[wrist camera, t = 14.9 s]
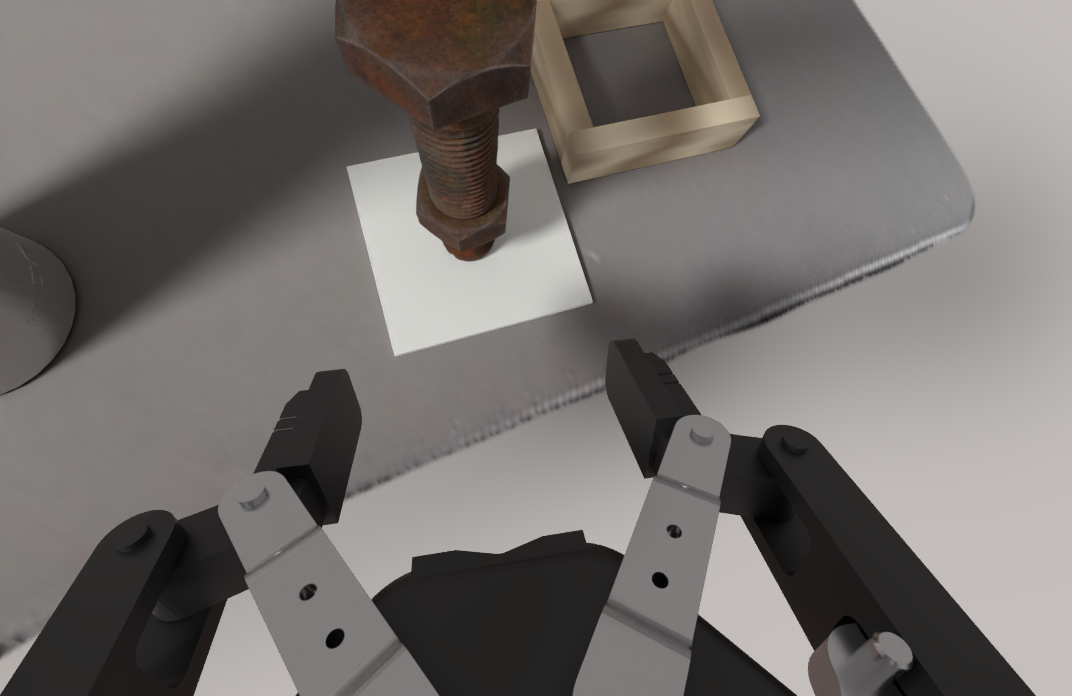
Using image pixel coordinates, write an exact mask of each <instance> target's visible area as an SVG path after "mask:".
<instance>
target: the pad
mask: <svg viewBox="0 0 1072 696" xmlns="http://www.w3.org/2000/svg"><path fill="white" fill-rule="evenodd" d="M497 165H498V166H500V167H501V168H502V169H503V170H504V171H505V172H506V173H507V174H508V175H509V176H510V185H509V198H508V210H507V221H506V231H505V233H504V234H503V235H501V236H499V237H498V238H496V239H495V241H494V244H493V246H492V248H491V250H490V251H489V252H488V253H487V254H486V255H485V256H483V257H482V258H480V259H478V260H476V261H471V262H470V261H462V260H459V259H457V258H455V256H454V255H453V254H450V253H449V252H448V251H447V250H446V248H445V246H444V244H443V242H442V241H441V240H440V239H439V238H437V237H436V236H434V235H433V234H432V233H430V232H429V231H428V230H427V229H426V228H424V227H423V226H422V225H421V224H420V223H419V220H418V217H417V215H416V198H417V188H418V181H419V175H420V171H421V168H422V164H421V161H420V157H419V152H416V153H411V154H406V155H401V156H396V157H391V158H387V159H382V160H377V161H372V162H367V163H362V164H357V165H352V166H347V171H348V175H349V179H350V182H351V186H352V190H353V194H354V198H355V202H356V206H357V210H358V214H359V218H360V222H361V226H362V230H363V234H364V238H365V242H366V245H367V249H368V253H369V257H370V261H371V265H372V269H373V273H374V277H375V281H376V285H377V289H378V293H379V297H380V301H381V304H382V308H383V312H384V316H385V320H386V324H387V328H388V332H389V336H390V340H391V344H392V348H393V352H394V356H396V357H397V356H401V355H405V354H408V353H412V352H416V351H420V350H423V349H427V348H431V347H434V346H438V345H442V344H445V343H449V342H453V341H457V340H460V339H464V338H468V337H471V336H475V335H479V334H482V333H486V332H490V331H493V330H497V329H501V328H505V327H508V326H512V325H516V324H519V323H523V322H527V321H530V320H534V319H538V318H542V317H545V316H549V315H553V314H556V313H560V312H564V311H567V310H571V309H575V308H579V307H582V306H586V305H590V304H592V303H593V301H592V298H591V294H590V291H589V288H588V285H587V282H586V279H585V276H584V273H583V270H582V267H581V264H580V261H579V258H578V255H577V252H576V249H575V246H574V243H573V240H572V237H571V233H570V230H569V227H568V224H567V221H566V218H565V215H564V212H563V209H562V206H561V203H560V200H559V197H558V194H557V191H556V188H555V185H554V182H553V179H552V175H551V172H550V169H549V166H548V163H547V160H546V157H545V154H544V151H543V148H542V145H541V142H540V139H539V136H538V133H537V130H536V128H535V129H530V130H525V131H520V132H515V133H510V134H505V135H500V136H498V153H497Z"/></svg>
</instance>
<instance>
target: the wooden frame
mask: <svg viewBox="0 0 1072 696" xmlns="http://www.w3.org/2000/svg"><path fill="white" fill-rule="evenodd" d="M662 21H663V23H664V26H665V28H666V31H667V34H668V36H669V39H670V41H671V44H672V46H673V49H674V51H675V54H676V57H677V59H678V62H679V64H680V67H681V69H682V72H683V75H684V77H685V80H686V82H687V85H688V87H689V90H690V92H691V95H692V98H693V100H694V103H695V105H696V106H695V107H690V108H685V109H680V110H676V111H671V112H666V113H661V114H656V115H651V116H646V117H642V118H637V119H632V120H627V121H622V122H617V123H612V124H608V125H603V126H598V127H593V124H592V121H591V119H590V116H589V113H588V110H587V107H586V104H585V101H584V99H583V96H582V93H581V90H580V87H579V84H578V81H577V78H576V76H575V73H574V70H573V67H572V64H571V61H570V58H569V56H568V53H567V50H566V47H565V44H564V41H563V38H568V37H574V36H580V35H586V34H592V33H597V32H603V31H609V30H615V29H621V28H627V27H633V26H638V25H644V24H650V23H656V22H662ZM530 71H531V74H532V77H533V80H534V83H535V86H536V89H537V92H538V95H539V98H540V101H541V104H542V107H543V110H544V113H545V116H546V119H547V122H548V125H549V128H550V131H551V134H552V137H553V140H554V143H555V146H556V149H557V152H558V155H559V158H560V161H561V164H562V167H563V170H564V173H565V176H566V179H567V182H568V184H570V183H575V182H579V181H584V180H588V179H593V178H597V177H602V176H606V175H611V174H615V173H619V172H624V171H628V170H633V169H637V168H642V167H646V166H651V165H655V164H660V163H664V162H668V161H673V160H677V159H682V158H686V157H691V156H695V155H700V154H704V153H709V152H713V151H717V150H722V149H726V148H731V147H733V146H734V145H735V144H736V143H737V142H738V141H739V140H740V138H741V137H742V136H743V135H744V134H745V133H746V132H747V130H748V129H749V128H750V127H751V126H752V125H753V124H754V122H755V121H756V120H757V119H758V118H759V117H760V115H759V112H758V110H757V107H756V105H755V103H754V100H753V98H752V95H751V93H750V90H749V88H748V86H747V83H746V81H745V78H744V76H743V73H742V71H741V69H740V66H739V64H738V61H737V59H736V56H735V54H734V52H733V49H732V47H731V44H730V42H729V39H728V37H727V35H726V32H725V30H724V27H723V25H722V23H721V20H720V18H719V15H718V13H717V10H716V8H715V6H714V3H713V1H712V0H537V6H536V18H535V30H534V42H533V51H532V61H531V70H530Z"/></svg>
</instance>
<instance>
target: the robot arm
mask: <svg viewBox="0 0 1072 696" xmlns="http://www.w3.org/2000/svg"><path fill="white" fill-rule="evenodd" d="M74 314H75V291H74V287H73V284H72V280H71V277H70V275H69V273H68V272H67V270H66V268H65V267H64V265H63V263H62V262H61V261H60V260H59V259H58V258H57V257H56V256H55V255H54V254H53V253H52V252H51V251H50V250H48V249H47V248H45V247H43V246H42V245H40V244H39V243H37V242H35V241H33V240H30V239H28V238H25V237H23V236H20V235H18V234H15V233H13V232H10V231H8V230H5V229H3V228H0V395H1V394H3V393H6V392H8V391H10V390H12V389H15V388H17V387H19V386H20V385H22V384H23V383H25V382H27V381H28V380H30V379H31V378H33V377H34V376H36V375H37V374H38V373H39V372H40V371H41V370H42V369H43V368H44V367H46V366H47V365H48V364H49V363H50V362H51V361H52V360H53V358H54V357H55V356H56V354H57V353H58V351H59V350H60V349H61V347H62V346H63V345H64V343H65V340H66V338H67V336H68V334H69V332H70V330H71V328H72V323H73V319H74ZM605 382H606V391H607V395H608V398H609V400H610V402H611V405H612V407H613V409H614V411H615V414H616V416H617V418H618V420H619V423H620V425H621V427H622V429H623V431H624V434H625V436H626V438H627V440H628V443H629V445H630V447H631V449H632V452H633V454H634V456H635V458H636V460H637V463H638V465H639V467H640V470H641V472H642V474H643V476H644V478H651V477H654V478H653V481H652V483H651V486H650V489H649V491H648V494H647V497H646V499H645V502H644V505H643V508H642V510H641V513H640V516H639V518H638V521H637V523H636V526H635V529H634V532H633V534H632V537H631V540H630V542H629V545H628V548H627V550H626V553H625V555H623V554H621V553H619V552H617V551H615V550H613V549H610V548H608V547H605V546H602V545H597V544H593V543H586V540H585V537H584V533H583V530H579V531H572V532H566V533H560V534H554V535H547V536H542V537H540V538H538V539H535V540H533V541H531V542H528V543H526V544H523V545H521V546H519V547H517V548H514V549H512V550H510V551H507V552H505V553H502V554H491V553H480V552H469V551H458V550H454V551H448V552H442V553H436V554H429V555H423V556H417V557H413V558H412V571H411V572H409V573H407V574H405V575H403V576H401V577H400V578H398V579H396V580H394V581H393V582H392V583H390V584H389V585H387V586H386V587H384V588H383V589H382V590H381V591H380V592H379V593H378V594H377V595H375V596H374V597H373V599H370V597H369V596H368V595H367V593H366V592H365V590H364V589H363V587H362V586H361V584H360V583H359V582H358V580H357V579H356V577H355V576H354V574H353V573H352V571H351V570H350V568H349V567H348V566H347V564H346V563H345V561H344V560H343V558H342V557H341V556H340V554H339V553H338V551H337V550H336V548H335V547H334V545H333V544H332V542H331V541H330V540H329V538H328V537H327V535H326V534H325V532H324V531H323V530H322V525H328V524H334V523H338V521H339V517H340V513H341V509H342V505H343V501H344V497H345V492H346V488H347V484H348V480H349V476H350V472H351V468H352V463H353V459H354V455H355V451H356V447H357V443H358V439H359V434H360V430H361V425H362V416H361V409H360V406H359V403H358V400H357V397H356V394H355V391H354V389H353V386H352V383H351V380H350V377H349V374H348V372H347V371H346V370H345V369H339V370H330V371H321V372H317V373H316V374H315V376H314V378H313V381H312V383H311V385H310V388H309V390H304V391H299V392H298V393H297V394H296V395H295V396H294V397H293V398H292V399H291V400H290V401H289V402H288V403H287V404H286V405H285V407H284V409H283V412H282V414H281V416H280V421H278V422H277V424H276V427H275V429H274V432H273V433H272V435H271V437H270V439H269V441H268V444H267V446H266V448H265V450H264V452H263V454H262V456H261V459H260V461H259V463H258V465H257V467H256V469H255V471H254V473H253V474H252V475H250V476H248V477H245V478H243V479H242V480H240V481H239V482H237V483H236V484H234V485H233V486H232V487H231V488H230V489H229V490H228V491H227V492H226V493H225V494H224V496H223V497H222V499H221V501H220V503H219V505H217V506H214V507H212V508H209V509H207V510H204V511H201V512H199V513H196V514H193V515H191V516H188V517H185V518H183V519H180V520H177V519H176V518H175V517H174V516H173V515H172V514H171V513H170V512H168V511H164V510H152V511H148V512H144V513H141V514H138V515H136V516H134V517H132V518H130V519H128V520H126V521H124V522H123V523H121V524H120V525H118V526H117V527H115V528H114V529H113V530H111V531H110V532H109V533H108V534H107V535H106V536H105V537H104V538H103V539H102V540H101V541H100V543H99V544H98V545H97V547H96V548H95V550H94V551H93V553H92V555H91V556H90V558H89V559H88V561H87V562H86V564H85V565H84V567H83V568H82V570H81V571H80V573H79V575H78V576H77V578H76V579H75V581H74V582H73V584H72V585H71V587H70V588H69V590H68V591H67V593H66V595H65V596H64V598H63V599H62V601H61V602H60V604H59V605H58V607H57V608H56V610H55V611H54V613H53V614H52V616H51V618H50V619H49V621H48V622H47V624H46V625H45V627H44V628H43V630H42V631H41V633H40V634H39V636H38V638H37V639H36V641H35V642H34V644H33V645H32V647H31V648H30V650H29V651H28V653H27V654H26V656H25V658H24V659H23V661H22V662H21V664H20V665H19V667H18V668H17V670H16V671H15V673H14V674H13V676H12V678H11V679H10V681H9V682H8V684H7V685H6V687H5V688H4V690H3V692H2V693H1V695H0V696H194V693H195V690H196V687H197V683H198V681H199V678H200V675H201V673H202V670H203V667H204V664H205V661H206V658H207V655H208V653H209V650H210V647H211V644H212V641H213V638H214V636H215V633H216V630H217V627H218V624H219V621H220V618H221V616H222V613H223V610H224V607H225V604H226V601H227V599H228V598H230V597H232V596H234V595H237V594H239V593H241V592H243V591H245V590H247V589H249V590H250V591H251V594H252V596H253V598H254V600H255V602H256V604H257V606H258V609H259V611H260V613H261V615H262V617H263V619H264V621H265V623H266V625H267V627H268V629H269V632H270V634H271V636H272V638H273V640H274V642H275V644H276V646H277V648H278V651H279V653H280V655H281V657H282V659H283V661H284V663H285V665H286V667H287V670H288V672H289V674H290V676H291V678H292V680H293V682H294V684H295V686H296V688H297V690H298V693H297V695H296V696H797V695H796V694H795V693H793V692H792V691H791V690H790V689H788V688H787V687H786V686H785V685H784V684H782V683H781V682H780V681H779V680H777V679H776V678H775V677H774V676H773V675H771V674H770V673H769V672H768V671H767V670H765V669H764V668H763V667H761V666H760V665H759V664H758V663H757V662H755V661H754V660H753V659H752V658H751V657H749V656H748V655H747V654H746V653H745V652H743V651H742V650H741V649H740V648H739V647H737V646H736V645H735V644H734V643H732V642H731V641H730V640H729V639H728V638H726V637H725V636H724V635H722V633H720V632H719V631H718V630H716V629H715V628H714V627H713V626H712V625H711V624H709V623H708V622H707V621H706V620H704V619H703V618H702V617H701V616H699V615H698V611H699V606H700V601H701V597H702V592H703V587H704V582H705V577H706V572H707V566H708V563H709V557H710V553H711V548H712V543H713V538H714V534H715V529H716V524H717V519H718V514H719V512H721V513H728V514H734V515H740V516H741V517H742V519H743V521H744V523H745V525H746V527H747V529H748V530H749V532H750V533H751V535H752V537H753V539H754V541H755V543H756V545H757V547H758V549H759V550H760V552H761V554H762V556H763V558H764V560H765V561H766V563H767V565H768V567H769V568H770V571H771V572H772V574H773V576H774V578H775V580H776V581H777V583H778V585H779V587H780V589H781V590H782V593H783V594H784V596H785V598H786V600H787V602H788V603H789V605H790V607H791V609H792V611H793V613H794V614H795V616H796V618H797V620H798V622H799V624H800V625H801V627H802V629H803V631H804V633H805V635H806V636H807V638H808V640H809V642H810V644H811V646H812V647H813V649H814V652H813V654H812V655H811V657H810V659H809V663H808V675H809V679H810V683H811V686H812V688H813V691H814V693H815V696H1035V694H1034V693H1033V692H1032V691H1031V690H1030V688H1029V687H1028V686H1027V685H1026V684H1025V682H1024V681H1023V680H1022V679H1021V678H1020V677H1019V676H1018V674H1017V673H1016V672H1015V671H1014V670H1013V668H1012V667H1011V666H1010V665H1009V664H1008V663H1007V661H1006V660H1005V659H1004V658H1003V657H1002V655H1001V654H1000V653H999V652H998V651H997V650H996V649H995V647H994V646H993V645H992V644H991V643H990V642H989V640H988V639H987V638H986V637H985V635H984V634H983V633H982V632H981V631H980V630H979V628H978V627H977V626H976V625H975V624H974V623H973V621H972V620H971V619H970V618H969V617H968V615H967V614H966V613H965V612H964V611H963V610H962V608H961V607H960V606H959V605H958V604H957V603H956V602H955V600H954V599H953V598H952V597H951V596H950V594H949V593H948V592H947V591H946V590H945V589H944V587H943V586H942V585H941V584H940V583H939V582H938V580H937V579H936V578H935V577H934V576H933V574H932V573H931V572H930V571H929V570H928V569H927V567H926V566H925V565H924V564H923V563H922V561H921V560H920V559H919V558H918V557H917V556H916V554H915V553H914V552H913V551H912V550H911V549H910V547H909V546H908V545H907V544H906V543H905V541H904V540H903V539H902V538H901V537H900V536H899V534H898V533H897V532H896V531H895V530H894V528H893V527H892V526H891V525H890V524H889V523H888V521H887V520H886V519H885V518H884V517H883V516H882V514H881V513H880V512H879V511H878V510H877V509H876V507H875V506H874V505H873V504H872V503H871V501H870V500H869V499H868V498H867V497H866V496H865V494H864V493H863V492H862V491H861V490H860V489H859V487H858V486H857V485H856V484H855V483H854V481H853V480H852V479H851V478H850V477H849V476H848V475H847V473H846V472H845V471H844V470H843V469H842V467H841V466H840V465H839V464H838V463H837V462H836V460H835V459H834V458H833V457H832V456H831V454H830V453H829V452H828V451H827V450H826V449H825V447H824V446H823V445H822V444H821V443H820V442H819V441H818V440H817V439H816V438H815V437H814V436H813V435H811V434H810V433H808V432H806V431H804V430H802V429H799V428H797V427H793V426H788V425H776V426H772V427H770V428H769V429H767V430H766V432H765V434H764V436H763V438H757V437H748V436H740V435H734V434H729V432H728V431H727V429H726V428H725V427H724V426H723V425H722V424H721V423H719V422H717V421H716V420H714V419H712V418H709V417H706V416H702V415H701V414H700V412H699V411H698V409H697V408H696V406H695V405H694V403H693V402H692V400H691V399H690V397H689V396H688V394H687V393H686V391H685V390H684V389H683V387H682V386H681V384H679V381H678V380H677V378H676V377H675V375H673V374H672V371H671V370H670V368H669V367H668V365H667V364H666V362H665V361H664V360H662V359H661V358H660V357H658V356H657V355H655V354H654V353H652V352H650V353H644V352H643V350H642V349H641V347H640V346H639V344H638V342H637V341H636V340H635V339H625V340H616V341H611V342H610V343H609V348H608V358H607V369H606V379H605Z"/></svg>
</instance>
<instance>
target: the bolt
mask: <svg viewBox="0 0 1072 696" xmlns="http://www.w3.org/2000/svg"><path fill="white" fill-rule="evenodd" d="M536 6H537V0H336V7H335V38H336V40H337V43H338V45H339V48H340V50H341V53H342V56H343V58H344V61H345V63H346V66H347V68H348V71H349V73H351V74H352V75H354V76H355V77H357V78H358V79H360V80H361V81H362V82H364V83H365V84H367V85H368V86H370V87H371V88H373V89H374V90H376V91H377V92H378V93H380V94H381V95H383V96H384V97H386V98H387V99H389V100H390V101H392V102H393V103H395V104H396V105H398V106H399V107H401V108H402V109H404V110H405V111H407V112H408V116H409V120H410V124H411V126H412V132H413V135H414V139H415V142H416V146H417V149H418V152H419V157H420V161H421V164H422V168H421V171H420V175H419V181H418V188H417V198H416V215H417V217H418V220H419V223H420V224H421V225H422V226H423V227H424V228H426V229H427V230H428V231H429V232H430V233H432V234H433V235H434V236H436V237H437V238H439V239H440V240H441V241H442V242H443V244H444V246H445V248H446V250H447V251H448V252H449V253H450V254H453V255H454V256H455V258H457V259H459V260H462V261H470V262H471V261H476V260H478V259H480V258H482V257H483V256H485V255H486V254H487V253H488V252H489V251H490V250H491V248H492V246H493V244H494V241H495V239H496V238H498V237H499V236H501V235H503V234H504V233H505V231H506V221H507V210H508V198H509V185H510V176H509V175H508V174H507V173H506V172H505V171H504V170H503V169H502V168H501V167H500V166H498V165H497V153H498V128H499V123H498V120H499V107H502V106H505V105H507V104H510V103H513V102H516V101H519V100H522V99H524V98H527V97H528V90H529V80H530V70H531V61H532V51H533V42H534V30H535V18H536Z"/></svg>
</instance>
